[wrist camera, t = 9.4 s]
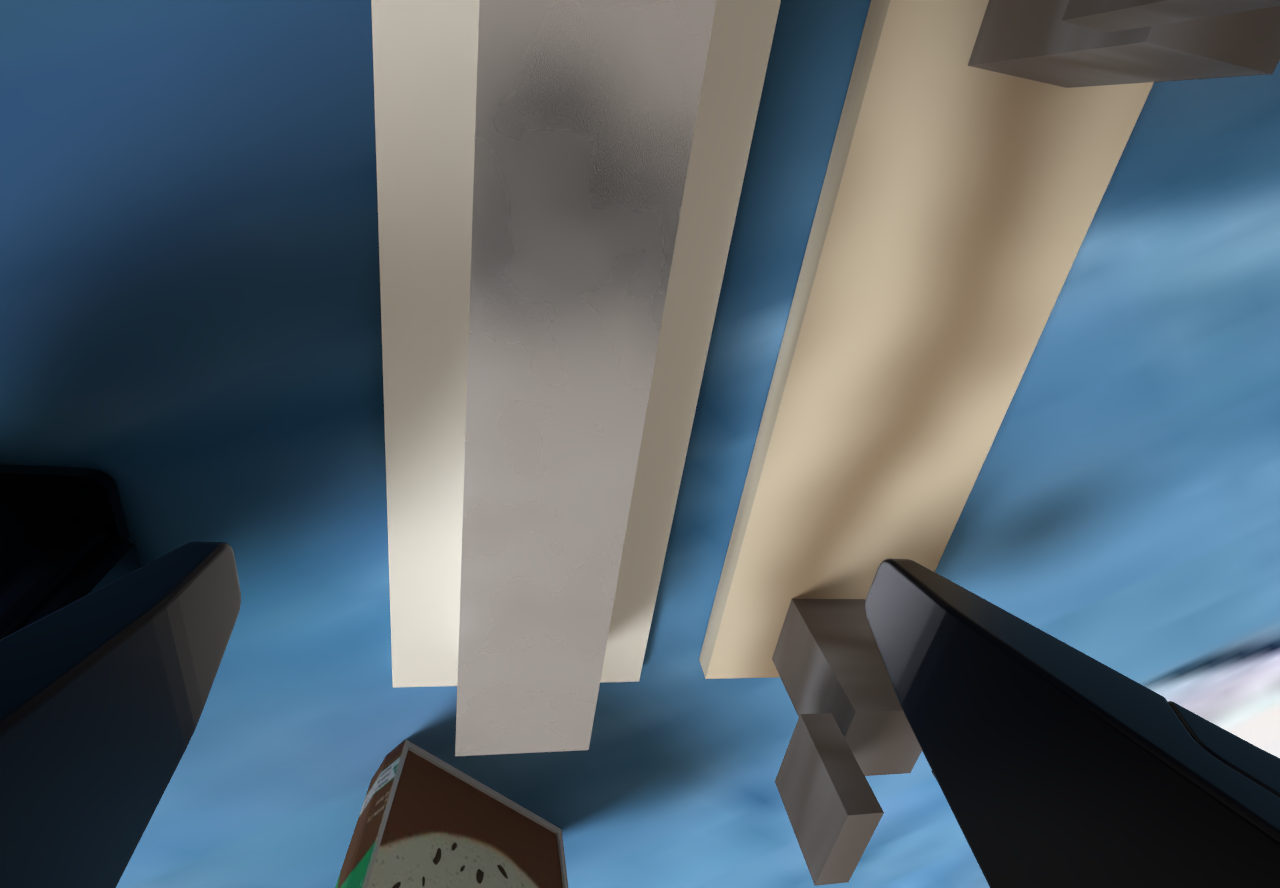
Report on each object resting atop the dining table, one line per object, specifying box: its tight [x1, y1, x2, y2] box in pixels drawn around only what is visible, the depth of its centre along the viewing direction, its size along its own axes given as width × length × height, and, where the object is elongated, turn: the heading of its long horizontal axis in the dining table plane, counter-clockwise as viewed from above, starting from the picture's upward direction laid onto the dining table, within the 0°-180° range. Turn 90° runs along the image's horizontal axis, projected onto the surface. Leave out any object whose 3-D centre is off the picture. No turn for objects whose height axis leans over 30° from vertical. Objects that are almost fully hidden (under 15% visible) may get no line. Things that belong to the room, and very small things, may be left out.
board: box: [371, 0, 781, 687], centre depth 18 cm, size 9×26×1 cm, turn 171°
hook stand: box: [699, 0, 1280, 885], centre depth 16 cm, size 8×25×9 cm, turn 171°
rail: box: [455, 0, 717, 756], centre depth 16 cm, size 4×23×4 cm, turn 171°
